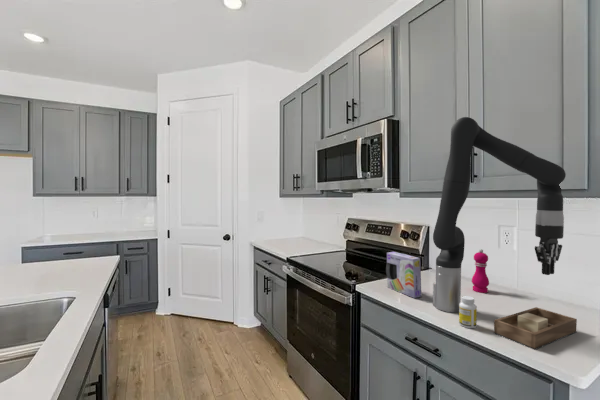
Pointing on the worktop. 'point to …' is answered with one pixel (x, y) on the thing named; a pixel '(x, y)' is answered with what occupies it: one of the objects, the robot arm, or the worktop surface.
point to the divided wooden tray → (556, 330)
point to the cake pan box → (404, 274)
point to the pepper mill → (480, 273)
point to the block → (532, 322)
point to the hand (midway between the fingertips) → (547, 273)
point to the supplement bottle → (467, 312)
